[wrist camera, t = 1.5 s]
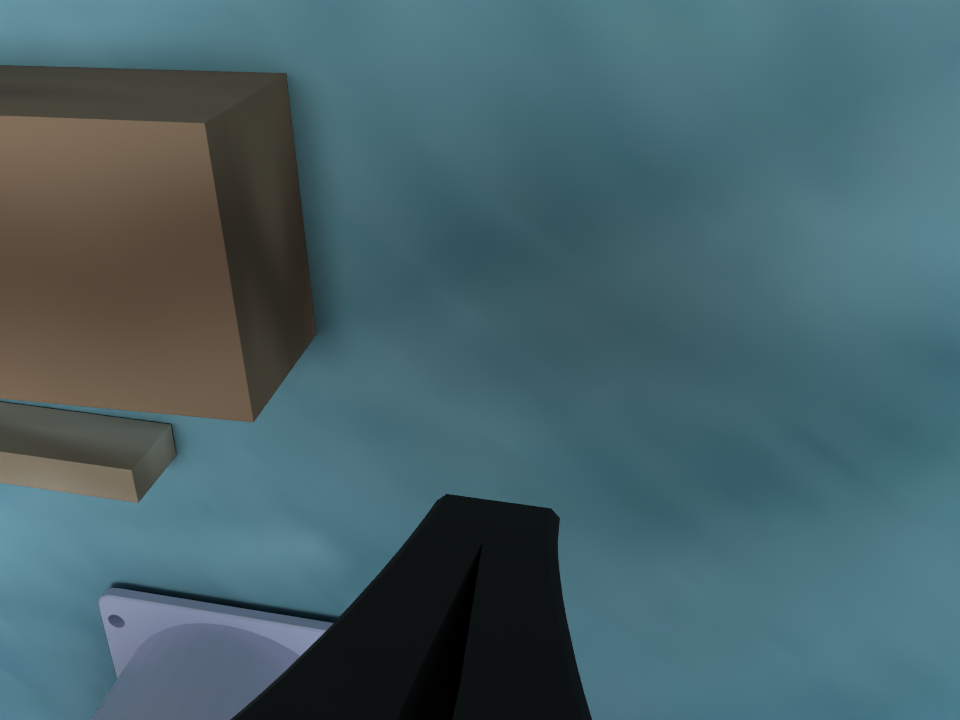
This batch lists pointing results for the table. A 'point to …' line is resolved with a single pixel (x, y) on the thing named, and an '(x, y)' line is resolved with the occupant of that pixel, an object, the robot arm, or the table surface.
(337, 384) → the table surface
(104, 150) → the walnut block
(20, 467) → the open wooden frame
